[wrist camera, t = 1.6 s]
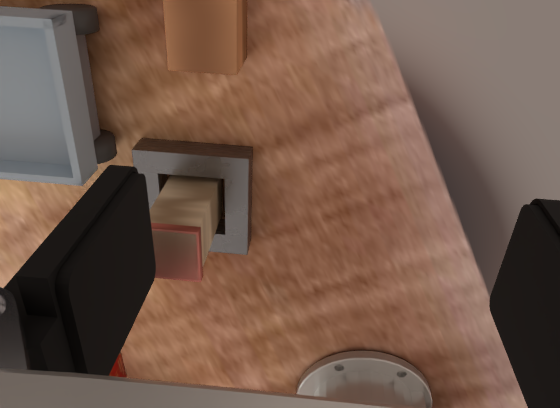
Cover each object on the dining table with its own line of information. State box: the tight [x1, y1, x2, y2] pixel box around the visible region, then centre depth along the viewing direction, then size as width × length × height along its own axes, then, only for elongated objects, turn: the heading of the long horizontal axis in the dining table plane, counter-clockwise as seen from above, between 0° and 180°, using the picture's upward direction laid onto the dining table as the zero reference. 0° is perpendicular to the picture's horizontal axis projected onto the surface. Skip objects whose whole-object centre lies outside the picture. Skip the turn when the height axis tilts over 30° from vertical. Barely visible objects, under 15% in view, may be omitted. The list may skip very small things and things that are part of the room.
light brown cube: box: [163, 0, 247, 75], centre depth 29 cm, size 4×4×4 cm
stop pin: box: [150, 174, 222, 282], centre depth 34 cm, size 4×4×8 cm
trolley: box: [0, 4, 117, 186], centre depth 31 cm, size 12×10×6 cm
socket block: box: [132, 138, 253, 255], centre depth 36 cm, size 8×8×2 cm
